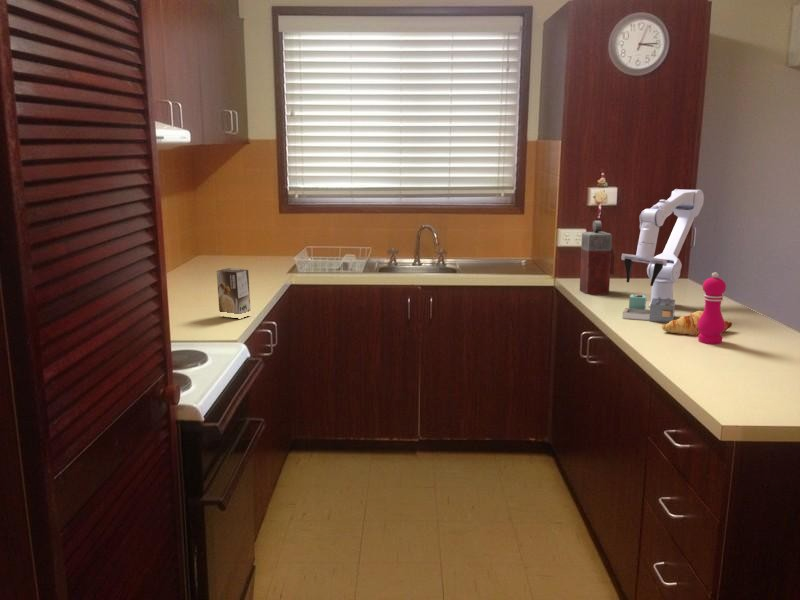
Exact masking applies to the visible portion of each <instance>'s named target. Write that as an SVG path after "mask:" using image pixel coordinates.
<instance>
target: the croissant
mask: <svg viewBox="0 0 800 600" xmlns="http://www.w3.org/2000/svg"><path fill="white" fill-rule="evenodd" d="M703 312H704V310H697V311H694V312H691V313H689V314H688V315H683V316H680V317H679V318H677V319H673V320H672V321H670V322H669V323H664V324H662V326H661V329H662V330H663V331H664V332H667V333H671V334H678V335H685V334H689V336H699V334H700V333H701V332H700V331H699V330H698V327H697V326H698V321H699V319H700V317H701V315H702V314H703ZM724 322H725V330H724V331H723V332H725V331H727V330H728V329H729V328H732V326H733V323H732V322H731V321H729V320H725V319H724Z"/></svg>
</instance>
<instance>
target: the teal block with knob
mask: <svg viewBox="0 0 800 600" xmlns="http://www.w3.org/2000/svg"><path fill="white" fill-rule="evenodd" d="M628 308H633V309H647V295H644V294H643V295H642V294H630V295H629V304H628Z"/></svg>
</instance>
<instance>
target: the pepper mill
mask: <svg viewBox="0 0 800 600" xmlns="http://www.w3.org/2000/svg"><path fill="white" fill-rule="evenodd" d="M726 289H727V285H726V282H725V280H723V278H719V273H718V272H716V271H715V272H712V273H711V277H709V278H706V279H705V280H704V282H703V284H702V290H703V292H704V294H703V296H704V297H703V299H704V301H705V302H704V309H703V311H704V312H703V314H702V315H701V317H700V319H699V321H698V326H697V327H698V330H699V331H700V332H701V333H700V334H699V335H697V336H698V338H697V340H698V341H699V342H700V343H703V344H707V345H719V344H721V343H723V335H722V334H723V333H724V332H725V331H726V330H725V322H724V320H725V319H724V316H723V314H722V311H721V310H722V309H721V305H722V301H724V295H723V294H724V293H725V292H726V291H727V290H726ZM724 330H725V331H724Z"/></svg>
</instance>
